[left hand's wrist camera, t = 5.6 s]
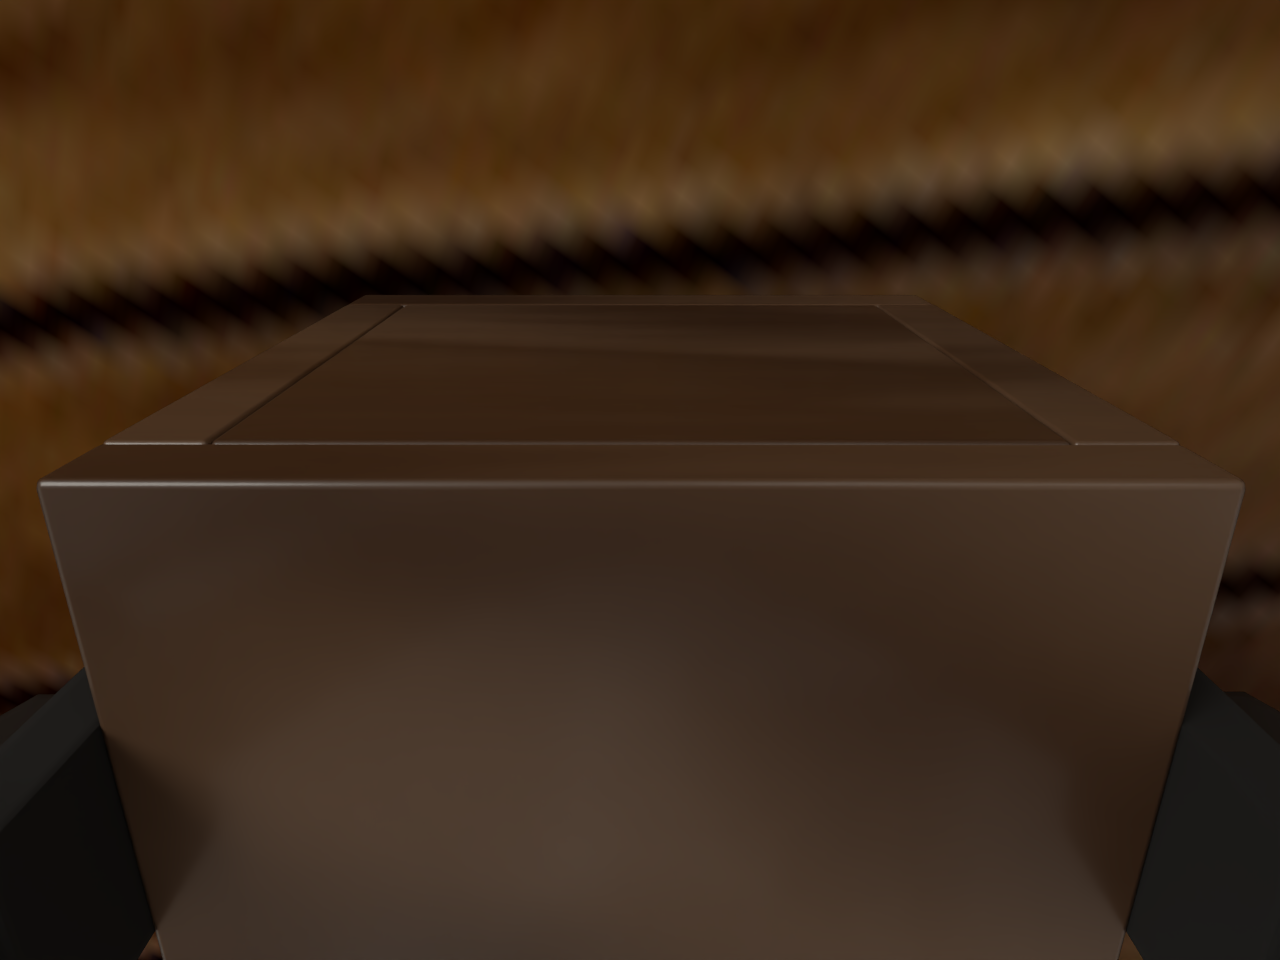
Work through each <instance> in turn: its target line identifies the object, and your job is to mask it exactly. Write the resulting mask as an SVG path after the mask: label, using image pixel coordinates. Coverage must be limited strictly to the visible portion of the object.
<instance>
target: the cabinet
mask: <svg viewBox="0 0 1280 960" xmlns="http://www.w3.org/2000/svg"><path fill="white" fill-rule="evenodd" d="M37 492H38V496H39V499H40V503H41V507H42V511H43V514H44V518H45V522H46V525H47V529H48V533H49V537H50V540H51V544H52V548H53V552H54V555H55V559H56V563H57V566H58V570H59V574H60V578H61V581H62V585H63V589H64V592H65V596H66V600H67V604H68V607H69V611H70V615H71V619H72V622H73V626H74V630H75V633H76V637H77V641H78V645H79V648H80V652H81V656H82V659H83V663H84V667H85V671H86V674H87V678H88V682H89V686H90V689H91V693H92V697H93V700H94V704H95V708H96V712H97V715H98V719H99V723H100V726H101V730H102V734H103V738H104V741H105V745H106V749H107V753H108V756H109V760H110V764H111V767H112V771H113V775H114V779H115V782H116V786H117V790H118V793H119V797H120V801H121V805H122V808H123V812H124V816H125V820H126V823H127V827H128V831H129V834H130V838H131V842H132V846H133V849H134V853H135V857H136V860H137V864H138V868H139V872H140V875H141V879H142V883H143V887H144V890H145V894H146V898H147V901H148V905H149V909H150V913H151V916H152V920H153V924H154V927H155V931H156V935H157V939H158V942H159V946H160V950H161V954H162V957H163V960H1118V959H1119V955H1120V951H1121V947H1122V944H1123V940H1124V936H1125V933H1126V929H1127V925H1128V922H1129V918H1130V914H1131V910H1132V907H1133V903H1134V899H1135V896H1136V892H1137V888H1138V885H1139V881H1140V877H1141V874H1142V870H1143V866H1144V862H1145V859H1146V855H1147V851H1148V848H1149V844H1150V840H1151V837H1152V833H1153V829H1154V826H1155V822H1156V818H1157V814H1158V811H1159V807H1160V803H1161V800H1162V796H1163V792H1164V789H1165V785H1166V781H1167V777H1168V774H1169V770H1170V766H1171V763H1172V759H1173V755H1174V752H1175V748H1176V744H1177V741H1178V737H1179V733H1180V729H1181V726H1182V722H1183V718H1184V715H1185V711H1186V707H1187V704H1188V700H1189V696H1190V692H1191V689H1192V685H1193V681H1194V678H1195V674H1196V670H1197V667H1198V663H1199V659H1200V656H1201V652H1202V648H1203V644H1204V641H1205V637H1206V633H1207V630H1208V626H1209V622H1210V619H1211V615H1212V611H1213V607H1214V604H1215V600H1216V596H1217V593H1218V589H1219V585H1220V582H1221V578H1222V574H1223V571H1224V567H1225V563H1226V559H1227V556H1228V552H1229V548H1230V545H1231V541H1232V537H1233V534H1234V530H1235V526H1236V523H1237V519H1238V515H1239V511H1240V508H1241V504H1242V500H1243V497H1244V493H1245V483H1244V482H1243V480H1241V479H1240V478H1238V477H1236V476H1234V475H1233V474H1231V473H1229V472H1227V471H1225V470H1224V469H1222V468H1220V467H1218V466H1217V465H1215V464H1213V463H1211V462H1210V461H1208V460H1206V459H1204V458H1202V457H1201V456H1199V455H1197V454H1195V453H1194V452H1192V451H1190V450H1188V449H1186V448H1185V447H1182V446H1180V445H1179V443H1178V442H1177V441H1176V440H1174V439H1172V438H1170V437H1169V436H1167V435H1165V434H1163V433H1161V432H1160V431H1158V430H1156V429H1154V428H1152V427H1151V426H1149V425H1147V424H1145V423H1144V422H1142V421H1140V420H1138V419H1136V418H1135V417H1133V416H1131V415H1129V414H1127V413H1126V412H1124V411H1122V410H1120V409H1119V408H1117V407H1115V406H1113V405H1111V404H1110V403H1108V402H1106V401H1104V400H1103V399H1101V398H1099V397H1097V396H1095V395H1094V394H1092V393H1090V392H1088V391H1086V390H1085V389H1083V388H1081V387H1079V386H1078V385H1076V384H1074V383H1072V382H1070V381H1069V380H1067V379H1065V378H1063V377H1061V376H1060V375H1058V374H1056V373H1054V372H1053V371H1051V370H1049V369H1047V368H1045V367H1044V366H1042V365H1040V364H1038V363H1037V362H1035V361H1033V360H1031V359H1029V358H1028V357H1026V356H1024V355H1022V354H1020V353H1019V352H1017V351H1015V350H1013V349H1012V348H1010V347H1008V346H1006V345H1004V344H1003V343H1001V342H999V341H997V340H995V339H994V338H992V337H990V336H988V335H987V334H985V333H983V332H981V331H979V330H978V329H976V328H974V327H972V326H971V325H969V324H967V323H965V322H963V321H962V320H960V319H958V318H956V317H954V316H953V315H951V314H949V313H947V312H946V311H944V310H942V309H940V308H938V307H937V306H935V305H932V304H930V303H928V302H927V301H925V300H923V299H921V298H920V297H918V296H916V295H365V296H363V297H361V298H360V299H358V300H356V301H354V302H353V303H351V304H349V305H347V306H345V307H343V308H341V309H340V310H338V311H336V312H334V313H332V314H331V315H329V316H327V317H325V318H323V319H322V320H320V321H318V322H316V323H315V324H313V325H311V326H309V327H307V328H306V329H304V330H302V331H300V332H299V333H297V334H295V335H293V336H291V337H290V338H288V339H286V340H284V341H282V342H281V343H279V344H277V345H275V346H274V347H272V348H270V349H268V350H266V351H265V352H263V353H261V354H259V355H257V356H256V357H254V358H252V359H250V360H249V361H247V362H245V363H243V364H241V365H240V366H238V367H236V368H234V369H233V370H231V371H229V372H227V373H225V374H224V375H222V376H220V377H218V378H216V379H215V380H213V381H211V382H209V383H208V384H206V385H204V386H202V387H200V388H199V389H197V390H195V391H193V392H191V393H190V394H188V395H186V396H184V397H183V398H181V399H179V400H177V401H175V402H174V403H172V404H170V405H168V406H167V407H165V408H163V409H161V410H159V411H158V412H156V413H154V414H152V415H150V416H149V417H147V418H145V419H143V420H142V421H140V422H138V423H136V424H134V425H133V426H131V427H129V428H127V429H126V430H124V431H122V432H120V433H118V434H117V435H115V436H113V437H111V438H109V439H108V440H106V441H105V442H104V444H103V445H100V446H98V447H96V448H94V449H92V450H91V451H89V452H87V453H85V454H84V455H82V456H80V457H78V458H76V459H75V460H73V461H71V462H69V463H68V464H66V465H64V466H62V467H60V468H59V469H57V470H55V471H53V472H52V473H50V474H48V475H46V476H44V477H43V478H41V479H39V481H38V483H37Z"/></svg>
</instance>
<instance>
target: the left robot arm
mask: <svg viewBox="0 0 1280 960" xmlns="http://www.w3.org/2000/svg"><path fill="white" fill-rule="evenodd" d="M154 932H155V927H154V924H153V920H152V916H151V913H150V909H149V905H148V901H147V898H146V894H145V890H144V887H143V883H142V879H141V875H140V872H139V868H138V864H137V860H136V857H135V853H134V849H133V846H132V842H131V838H130V834H129V831H128V827H127V823H126V820H125V816H124V812H123V808H122V805H121V801H120V797H119V793H118V790H117V786H116V782H115V779H114V775H113V771H112V767H111V764H110V760H109V756H108V753H107V749H106V745H105V741H104V738H103V734H102V730H101V726H100V723H99V719H98V715H97V712H96V708H95V704H94V700H93V697H92V693H91V689H90V686H89V682H88V678H87V674H86V671H85V667H84V668H83V669H82V670H80V671H79V672H78V673H77V674H76V675H75V676H74V677H73V678H72V679H71V680H70V681H69V682H68V683H67V684H66V685H65V686H64V687H62V688H61V689H60V690H59V691H58V692H57V693H56V694H55V695H36V696H35V697H33V698H31V699H29V700H28V701H26V702H24V703H22V704H20V705H19V706H17V707H15V708H13V709H12V710H10V711H8V712H6V713H5V714H3V715H1V716H0V960H137V959H138V958H139V956H140V954H141V953H142V951H143V950H144V948H145V946H146V945H147V943H148V941H149V940H150V938H151V937H152V935H153V933H154ZM1126 932H1127V933H1128V935H1129V937H1130V938H1131V940H1132V942H1133V943H1134V945H1135V946H1136V948H1137V950H1138V951H1139V953H1140V955H1141V956H1142V958H1143V959H1144V960H1280V712H1279V711H1277V710H1275V709H1274V708H1272V707H1270V706H1268V705H1267V704H1265V703H1263V702H1261V701H1259V700H1258V699H1256V698H1254V697H1252V696H1251V695H1249V694H1247V693H1245V692H1223V691H1222V690H1221V689H1220V688H1219V687H1218V686H1216V685H1215V684H1214V683H1213V682H1212V681H1211V680H1210V679H1209V678H1208V677H1207V676H1206V675H1205V674H1204V673H1203V672H1202V671H1201V670H1200V669H1198V668H1197V670H1196V674H1195V678H1194V681H1193V685H1192V689H1191V692H1190V696H1189V700H1188V704H1187V707H1186V711H1185V715H1184V718H1183V722H1182V726H1181V729H1180V733H1179V737H1178V741H1177V744H1176V748H1175V752H1174V755H1173V759H1172V763H1171V766H1170V770H1169V774H1168V777H1167V781H1166V785H1165V789H1164V792H1163V796H1162V800H1161V803H1160V807H1159V811H1158V814H1157V818H1156V822H1155V826H1154V829H1153V833H1152V837H1151V840H1150V844H1149V848H1148V851H1147V855H1146V859H1145V862H1144V866H1143V870H1142V874H1141V877H1140V881H1139V885H1138V888H1137V892H1136V896H1135V899H1134V903H1133V907H1132V910H1131V914H1130V918H1129V922H1128V925H1127V929H1126Z"/></svg>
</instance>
